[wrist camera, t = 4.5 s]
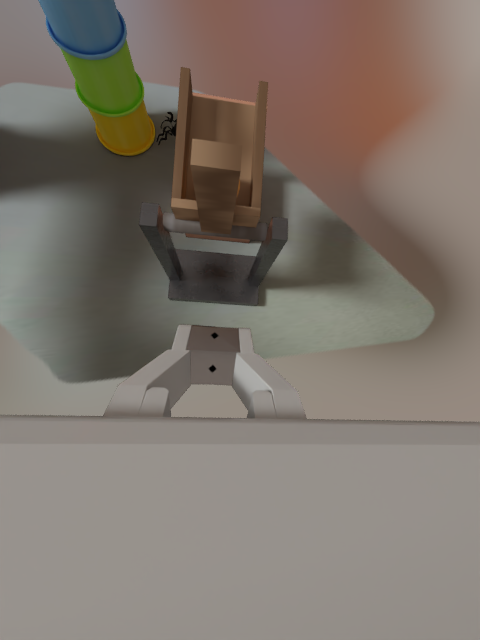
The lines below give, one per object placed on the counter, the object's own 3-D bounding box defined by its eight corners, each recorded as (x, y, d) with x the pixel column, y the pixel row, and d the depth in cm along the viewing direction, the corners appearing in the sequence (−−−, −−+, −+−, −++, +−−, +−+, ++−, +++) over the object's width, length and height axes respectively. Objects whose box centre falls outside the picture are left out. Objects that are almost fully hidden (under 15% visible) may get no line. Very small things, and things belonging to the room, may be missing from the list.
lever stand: (169, 299, 38) (135, 254, 21) (174, 252, 39) (145, 175, 22) (256, 306, 39) (287, 267, 23) (257, 260, 41) (287, 192, 24)
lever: (166, 234, 24) (125, 157, 13) (175, 108, 24) (142, -67, 13) (263, 243, 25) (299, 180, 14) (270, 123, 25) (310, -28, 15)
